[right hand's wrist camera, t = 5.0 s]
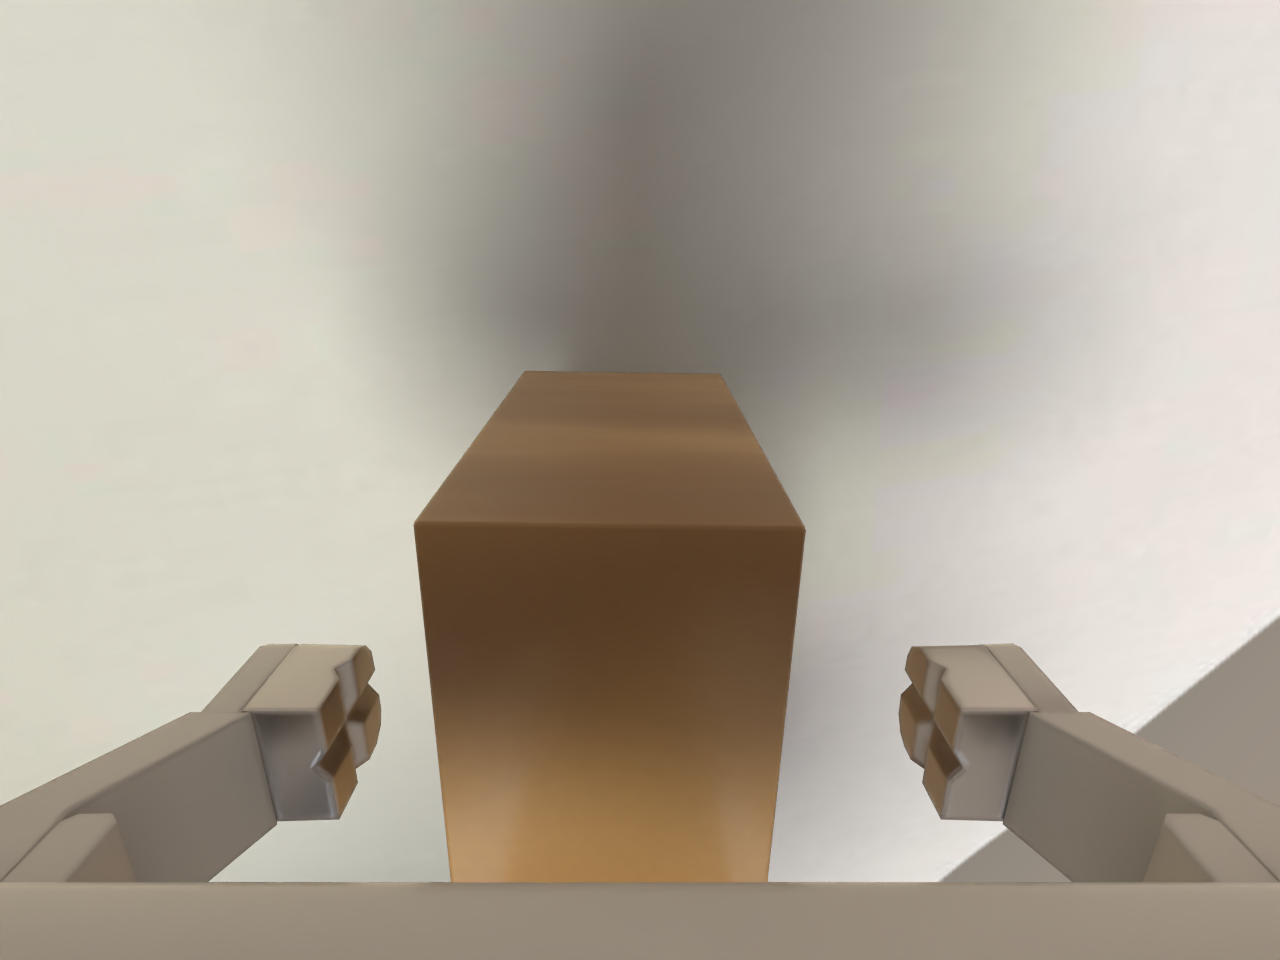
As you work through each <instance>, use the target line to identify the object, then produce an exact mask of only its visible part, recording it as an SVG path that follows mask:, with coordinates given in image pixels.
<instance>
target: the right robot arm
mask: <svg viewBox="0 0 1280 960" xmlns="http://www.w3.org/2000/svg"><path fill="white" fill-rule="evenodd" d="M374 671H375V667H374V662H373V657H372V652H371V650H370V649H369V648H368V647H367V646H364V645H316V644H301V645H298V644H268V645H264V646H261V647H259V648H258V649H257V650H256V651H255V653H254V654H253V655H252V656H251V657H250V658H249V659H248V660H247V662H246V663H245V664H244V665H243V666H242V667H241V668H240V669H239V670H238V672H237V673H236V674H235V675H234V676H233V677H232V678H231V679H230V681H229V682H228V683H227V684H226V685H225V686H224V687H223V688H222V689H221V691H220V692H219V693H218V694H217V695H216V696H215V697H214V698H213V699H212V701H211V702H210V703H209V704H208V705H207V706H206V707H205V708H204V710H203V711H202V712H190V713H188V714H186V715H184V716H182V717H180V718H178V719H176V720H174V721H172V722H169V723H167V724H165V725H163V726H161V727H159V728H157V729H155V730H153V731H151V732H149V733H147V734H145V735H143V736H141V737H139V738H137V739H135V740H133V741H131V742H129V743H127V744H125V745H123V746H121V747H119V748H117V749H115V750H113V751H111V752H109V753H107V754H105V755H103V756H100V757H98V758H96V759H94V760H92V761H90V762H88V763H86V764H84V765H82V766H80V767H78V768H76V769H74V770H72V771H70V772H68V773H66V774H64V775H62V776H60V777H58V778H56V779H54V780H52V781H50V782H48V783H46V784H44V785H42V786H40V787H38V788H36V789H34V790H32V791H29V792H27V793H25V794H23V795H21V796H19V797H17V798H15V799H13V800H11V801H9V802H7V803H5V804H3V805H1V806H0V960H1280V806H1278V805H1276V804H1274V803H1272V802H1270V801H1268V800H1266V799H1264V798H1262V797H1260V796H1258V795H1256V794H1254V793H1252V792H1250V791H1248V790H1246V789H1244V788H1242V787H1240V786H1238V785H1236V784H1234V783H1232V782H1230V781H1228V780H1226V779H1224V778H1222V777H1220V776H1218V775H1216V774H1214V773H1212V772H1210V771H1208V770H1206V769H1203V768H1202V767H1199V766H1197V765H1195V764H1193V763H1191V762H1189V761H1187V760H1185V759H1183V758H1181V757H1179V756H1177V755H1175V754H1173V753H1171V752H1169V751H1167V750H1165V749H1163V748H1161V747H1159V746H1157V745H1155V744H1153V743H1151V742H1149V741H1147V740H1145V739H1143V738H1141V737H1139V736H1137V735H1135V734H1133V733H1131V732H1129V731H1127V730H1125V729H1123V728H1121V727H1119V726H1117V725H1115V724H1113V723H1110V722H1108V721H1106V720H1104V719H1102V718H1100V717H1098V716H1096V715H1094V714H1092V713H1090V712H1078V711H1077V710H1076V708H1075V707H1074V706H1073V705H1072V704H1071V703H1070V702H1069V701H1068V699H1067V698H1066V697H1065V696H1064V695H1063V694H1062V693H1061V692H1060V691H1059V689H1058V688H1057V687H1056V686H1055V685H1054V684H1053V683H1052V682H1051V681H1050V679H1049V678H1048V677H1047V676H1046V675H1045V674H1044V673H1043V672H1042V670H1041V669H1040V668H1039V667H1038V666H1037V665H1036V664H1035V663H1034V662H1033V660H1032V659H1031V658H1030V657H1029V656H1028V655H1027V654H1026V653H1025V651H1024V650H1023V649H1022V648H1021V647H1019V646H1017V645H1014V644H985V645H966V646H913V647H911V649H910V651H909V653H908V656H907V661H906V667H905V671H906V673H907V674H908V676H909V678H910V680H911V681H912V684H911V685H910V686H909V687H908V688H907V689H906V690H905V691H904V692H903V693H902V694H901V699H900V707H899V722H900V733H901V736H902V740H903V743H904V746H905V749H906V751H907V753H908V755H909V757H910V759H911V760H912V761H914V762H915V763H917V764H918V765H920V766H921V767H922V768H924V775H923V781H922V783H923V785H924V787H925V789H926V791H927V793H928V795H929V797H930V799H931V801H932V803H933V805H934V807H935V809H936V811H937V813H938V814H939V816H940V818H941V819H944V820H980V821H1003V825H1005V826H1006V827H1007V828H1008V829H1009V830H1011V831H1012V832H1013V833H1014V834H1015V835H1017V836H1018V837H1019V838H1020V839H1021V840H1023V841H1024V842H1025V843H1026V844H1027V845H1029V846H1030V847H1031V848H1032V849H1034V850H1035V851H1036V852H1037V853H1038V854H1039V855H1041V856H1042V857H1043V858H1044V859H1046V860H1047V861H1048V862H1049V863H1050V864H1051V865H1053V866H1054V867H1055V868H1056V869H1057V870H1059V871H1060V872H1061V873H1062V874H1063V875H1065V876H1066V877H1067V878H1068V879H1069V880H1071V881H1072V882H208V881H210V880H211V879H212V878H213V877H214V876H216V875H217V874H218V873H219V872H220V871H222V870H223V869H224V868H225V867H226V866H228V865H229V864H230V863H231V862H232V861H234V860H235V859H236V858H237V857H238V856H240V855H241V854H242V853H243V852H244V851H246V850H247V849H248V848H249V847H250V846H252V845H253V844H254V843H255V842H256V841H258V840H259V839H260V838H261V837H262V836H264V835H265V834H266V833H267V832H268V831H270V830H271V829H272V828H273V827H274V826H276V825H277V822H276V821H299V820H334V819H340V817H341V815H342V813H343V811H344V809H345V807H346V805H347V803H348V801H349V799H350V797H351V795H352V793H353V791H354V789H355V787H356V785H357V783H358V781H357V775H356V768H358V767H359V766H360V765H362V764H363V763H365V762H366V761H368V760H369V759H370V757H371V755H372V753H373V751H374V748H375V746H376V744H377V740H378V735H379V730H380V726H381V705H380V698H379V694H378V693H377V692H376V691H375V690H374V689H373V688H372V687H371V686H370V685H369V684H368V681H369V680H370V678H371V676H372V674H373V673H374Z"/></svg>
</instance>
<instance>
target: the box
mask: <svg viewBox="0 0 1280 960" xmlns="http://www.w3.org/2000/svg"><path fill="white" fill-rule="evenodd" d="M805 532H806V529H805V527H804V525H803V523H802V521H801V519H800V517H799V516H798V514H797V512H796V510H795V508H794V507H793V505H792V503H791V501H790V499H789V498H788V496H787V494H786V492H785V490H784V488H783V487H782V485H781V483H780V481H779V479H778V478H777V476H776V474H775V472H774V470H773V468H772V467H771V465H770V463H769V461H768V459H767V458H766V456H765V454H764V452H763V450H762V449H761V447H760V445H759V443H758V441H757V439H756V438H755V436H754V434H753V432H752V430H751V429H750V427H749V425H748V423H747V421H746V419H745V418H744V416H743V414H742V412H741V410H740V409H739V407H738V405H737V403H736V401H735V400H734V398H733V396H732V394H731V392H730V390H729V389H728V387H727V385H726V383H725V381H724V380H723V378H722V376H721V375H720V374H690V373H625V372H560V371H525V372H524V373H523V374H522V376H521V377H520V378H519V380H518V381H517V382H516V384H515V385H514V387H513V388H512V389H511V391H510V392H509V393H508V395H507V396H506V398H505V399H504V400H503V402H502V403H501V404H500V406H499V407H498V408H497V410H496V411H495V413H494V414H493V415H492V417H491V418H490V419H489V421H488V422H487V424H486V425H485V426H484V428H483V429H482V430H481V432H480V433H479V434H478V436H477V437H476V439H475V440H474V441H473V443H472V444H471V445H470V447H469V448H468V450H467V451H466V452H465V454H464V455H463V456H462V458H461V459H460V460H459V462H458V463H457V465H456V466H455V467H454V469H453V470H452V471H451V473H450V474H449V476H448V477H447V478H446V480H445V481H444V482H443V484H442V485H441V486H440V488H439V489H438V491H437V492H436V493H435V495H434V496H433V497H432V499H431V500H430V502H429V503H428V504H427V506H426V507H425V508H424V510H423V511H422V512H421V514H420V515H419V517H418V518H417V519H416V521H415V522H414V534H415V543H416V553H417V562H418V572H419V581H420V591H421V600H422V610H423V619H424V629H425V638H426V648H427V657H428V667H429V676H430V686H431V696H432V705H433V715H434V724H435V734H436V743H437V753H438V762H439V772H440V781H441V791H442V800H443V810H444V819H445V829H446V838H447V848H448V857H449V867H450V876H451V882H767V881H768V872H769V863H770V853H771V844H772V835H773V826H774V817H775V807H776V798H777V789H778V780H779V771H780V762H781V752H782V743H783V734H784V725H785V716H786V707H787V697H788V688H789V679H790V670H791V661H792V652H793V642H794V633H795V624H796V615H797V606H798V597H799V587H800V578H801V569H802V560H803V551H804V541H805Z"/></svg>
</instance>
